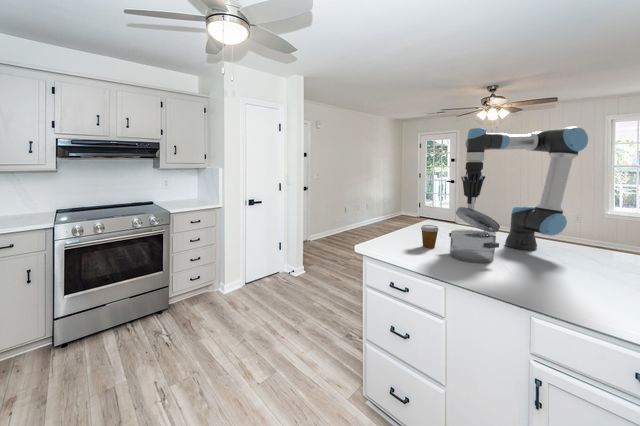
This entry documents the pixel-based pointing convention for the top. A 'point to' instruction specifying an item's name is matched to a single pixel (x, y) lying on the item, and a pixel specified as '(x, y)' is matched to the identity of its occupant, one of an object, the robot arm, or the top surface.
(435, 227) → the disposable coffee cup
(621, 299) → the top surface
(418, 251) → the top surface
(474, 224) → the pot lid
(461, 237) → the cooker pot
